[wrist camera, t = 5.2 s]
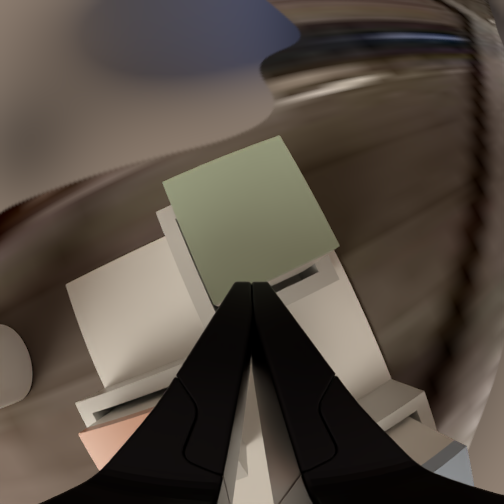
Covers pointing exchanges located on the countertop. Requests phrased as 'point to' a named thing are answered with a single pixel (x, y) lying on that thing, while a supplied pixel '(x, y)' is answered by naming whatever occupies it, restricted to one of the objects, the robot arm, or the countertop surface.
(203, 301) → the keypad
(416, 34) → the countertop surface
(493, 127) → the countertop surface
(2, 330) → the mug
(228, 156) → the key sage
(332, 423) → the robot arm
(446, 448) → the key slate
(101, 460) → the key terracotta
